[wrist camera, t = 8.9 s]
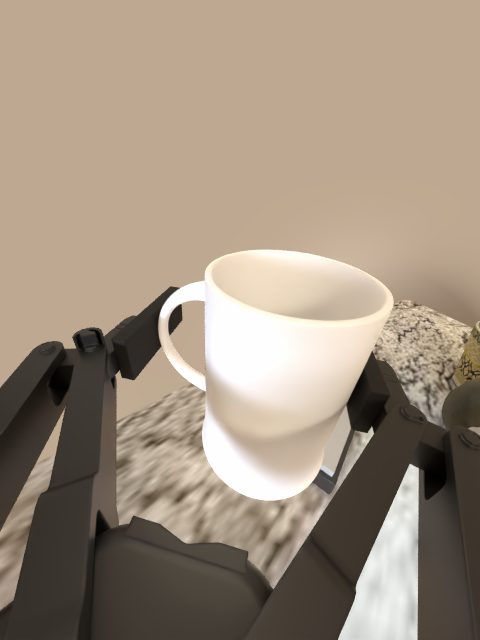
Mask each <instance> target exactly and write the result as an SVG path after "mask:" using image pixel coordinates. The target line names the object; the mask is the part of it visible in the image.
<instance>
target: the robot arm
mask: <svg viewBox="0 0 480 640" xmlns="http://www.w3.org/2000/svg"><path fill="white" fill-rule="evenodd" d="M178 289H180V288H177V287H169V288H168V289H167V290H166V291H165V292H164V293H162V294H161V295H160V296H159V297H158V298H157V299H156V300H155V301H153V302H152V303H151V304H150V305H149V306H148V307H147V308H145V309H144V310H143V311H142V312H141V313H140V314H139V315H138V316H130V317H128V318H126V319H124V320H123V321H122V322H121V323H120V324H119V325H117V326H116V327H115V328H114V329H112V330H111V331H110V332H109V333H108V334H107V335H105V336H103V333H102V330H101V329H99V328H86V329H82V330H80V331H78V332H76V333H75V334H74V335H73V337H72V338H73V340H74V343H75V345H76V348H77V349H64V346H63V344H62V343H61V342H57V341H52V342H46V343H43V344H41V345H39V346H37V347H36V348H34V349H33V350H32V352H31V353H30V354H29V355H28V356H27V357H26V358H25V360H24V361H23V362H22V363H21V364H20V366H19V367H18V368H17V369H16V370H15V371H14V372H13V374H12V375H11V376H10V377H9V378H8V379H7V381H6V382H5V383H4V384H3V385H2V386H1V388H0V531H1V529H2V527H3V525H4V523H5V521H6V519H7V517H8V515H9V513H10V511H11V510H12V508H13V506H14V504H15V502H16V500H17V498H18V496H19V494H20V492H21V490H22V489H23V487H24V485H25V483H26V481H27V479H28V477H29V475H30V473H31V471H32V469H33V468H34V466H35V464H36V462H37V460H38V458H39V456H40V454H41V452H42V450H43V448H44V447H45V445H46V442H47V441H48V439H49V437H50V435H51V433H52V431H53V429H54V427H55V425H56V423H57V422H58V420H59V418H60V416H61V414H62V412H63V410H64V408H65V412H64V418H63V422H62V427H61V432H60V436H59V441H58V446H57V451H56V456H55V461H54V466H53V470H52V475H51V480H50V485H49V488H48V489H47V491H45V492H43V493H41V495H40V496H39V498H38V501H37V504H36V507H35V511H34V515H33V520H32V524H31V528H30V533H29V537H28V541H27V546H26V550H25V554H24V558H23V563H22V567H21V571H20V576H19V580H18V584H17V589H16V593H15V597H14V600H13V601H12V602H11V603H9V604H8V605H7V606H6V607H4V608H3V609H2V610H1V611H0V640H338V637H339V635H340V633H341V630H342V628H343V626H344V624H345V621H346V619H347V617H348V614H349V612H350V610H351V607H352V604H353V602H354V599H355V595H356V584H357V581H358V579H359V576H360V574H361V572H362V570H363V567H364V565H365V563H366V561H367V558H368V556H369V554H370V552H371V549H372V547H373V545H374V543H375V540H376V538H377V536H378V534H379V531H380V529H381V527H382V525H383V522H384V520H385V518H386V516H387V513H388V511H389V509H390V507H391V504H392V502H393V500H394V498H395V495H396V493H397V491H398V489H399V486H400V484H401V482H402V480H403V477H404V475H405V473H406V471H407V468H408V466H409V464H412V465H414V466H416V467H418V468H419V527H418V640H480V436H479V435H478V434H477V433H476V432H474V431H472V430H470V429H468V428H466V427H463V426H453V427H451V428H450V429H449V430H446V429H444V428H441V427H439V426H437V425H434V424H432V423H430V422H428V421H427V419H426V417H425V415H424V414H423V413H422V412H421V411H420V410H419V409H417V408H416V407H415V406H413V405H411V404H410V403H409V401H408V399H407V397H406V395H405V393H404V390H403V388H402V386H401V384H399V380H398V378H397V376H396V374H395V372H394V370H393V368H392V367H391V366H390V365H389V364H388V363H387V362H385V361H380V360H376V358H375V356H374V354H373V351H372V352H371V354H370V356H369V358H368V361H367V363H366V365H365V367H364V369H363V371H362V373H361V375H360V377H359V379H358V381H357V383H356V385H355V387H354V389H353V392H352V394H351V396H350V398H349V400H348V402H347V404H346V407H347V412H348V417H349V421H350V426H351V429H352V430H356V431H360V432H365V433H368V431H369V430H370V428H371V426H372V428H373V431H374V435H373V436H372V438H371V440H370V441H369V443H368V444H367V446H366V447H365V449H364V450H363V452H362V454H361V455H360V457H359V458H358V460H357V461H356V463H355V464H354V466H353V467H352V469H351V471H350V472H349V474H348V475H347V477H346V478H345V480H344V481H343V483H342V484H341V486H340V488H339V489H338V491H337V492H336V494H335V495H334V497H333V498H332V500H331V501H330V503H329V505H328V506H327V508H326V509H325V511H324V512H323V514H322V515H321V517H320V518H319V520H318V522H317V523H316V525H315V526H314V528H313V529H312V531H311V532H310V534H309V536H308V537H307V539H306V540H305V542H304V543H303V545H302V546H301V548H300V549H299V551H298V553H297V554H296V556H295V557H294V559H293V560H292V562H291V563H290V565H289V566H288V568H287V570H286V571H285V573H284V574H283V576H282V577H281V579H280V580H279V582H278V583H277V585H276V587H275V588H274V590H273V589H272V587H271V585H270V584H269V582H268V581H267V579H266V578H265V576H264V575H263V574H262V573H261V571H260V570H259V569H258V568H257V567H256V566H255V565H254V564H252V563H251V562H250V561H248V560H247V558H248V551H244V550H241V549H238V548H235V547H232V546H228V545H225V544H222V543H219V542H218V543H195V544H186V543H184V542H182V541H181V540H180V539H178V538H177V537H176V536H175V535H173V534H172V533H171V532H169V531H168V530H167V529H166V528H164V527H163V526H162V525H160V524H158V523H155V522H152V521H148V520H145V519H142V518H139V517H136V516H133V517H132V520H131V522H130V524H125V525H120V526H119V520H118V514H117V507H116V377H115V375H116V374H117V373H118V371H119V370H120V373H121V376H122V378H126V379H130V380H135V379H136V377H137V376H138V375H139V374H140V372H141V371H142V370H143V369H144V367H145V366H146V365H147V364H148V362H149V361H150V360H151V359H152V357H153V356H154V355H155V353H156V352H157V351H158V350H159V349H160V347H161V343H160V340H159V335H158V320H159V315H160V312H161V310H162V307H163V305H164V304H165V302H166V301H167V299H168V298H169V297H170V296H171V295H172V294H173V293H174V292H176V291H177V290H178ZM181 306H182V305H181V304H180V305H178V306H177V307H176V308H175V309H174V310H173V311H172V313H171V314H170V317H169V321H168V330H169V336H170V335H171V333H172V332H173V331H174V329H175V328H176V327H177V325H179V323H180V322H181V321H182V307H181ZM65 406H66V407H65Z"/></svg>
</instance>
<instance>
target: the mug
mask: <svg viewBox="0 0 480 640" xmlns="http://www.w3.org/2000/svg"><path fill="white" fill-rule="evenodd" d="M192 300H200V301H205V375H204V374H202V373H200V372H198V371H196V370H195V369H193V368H192V367H191V366H189V365H188V364H187V363H186V362H185V361H184V360H183V359H182V358H181V357H180V355H179V354H178V353H177V351H176V350H175V348H174V346H173V344H172V342H171V339H170V336H169V330H168V321H169V317H170V314H171V313H172V311H173V310H174V309H175V308H176V307H177V306H178V305H180V304H182V303H184V302H187V301H192ZM393 303H394V302H393V297H392V294H391V293H390V291H389V290H388V289H387V287H386V286H385V285H384V284H382V283H381V282H380V281H379V280H377V279H376V278H374V277H373V276H371V275H369V274H367V273H366V272H364V271H361V270H360V269H358V268H355V267H353V266H350V265H348V264H345V263H342V262H339V261H336V260H333V259H329V258H325V257H321V256H317V255H313V254H307V253H301V252H293V251H284V250H250V251H242V252H236V253H232V254H228V255H225V256H222V257H220V258H218V259H216V260H214V261H213V262H212V263H210V264H209V266H208V267H207V269H206V271H205V281H201V282H195V283H191V284H188V285H186V286H184V287H182V288H180V289H178V290H177V291H176V292H174V293H173V294H172V295H171V296H170V297H169V298H168V299H167V301H166V302H165V304H164V305H163V307H162V310H161V312H160V315H159V320H158V335H159V340H160V343H161V346H162V348H163V351H164V353H165V354H166V356H167V358H168V360H169V361H170V363H171V364H172V365H173V366H174V368H175V369H176V370H177V371H178V372H179V373H180V374H181V375H182V376H183V377H185V378H186V379H187V380H188V381H190V382H191V383H192V384H194V385H195V386H197V387H199V388H200V389H202V390H204V391H205V392H206V416H205V419H204V423H203V429H202V440H203V446H204V450H205V454H206V456H207V459H208V461H209V463H210V465H211V467H212V468H213V470H214V471H215V472H216V474H217V475H218V476H219V477H220V478H221V479H222V480H223V481H224V482H225V483H226V484H227V485H228V486H230V487H231V488H232V489H234V490H236V491H237V492H239V493H241V494H243V495H246V496H248V497H251V498H255V499H260V500H281V499H285V498H289V497H292V496H294V495H296V494H298V493H300V492H301V491H303V490H304V489H305V488H307V487H308V486H309V485H310V484H311V483H312V481H313V480H314V479H315V477H316V476H317V474H318V472H319V470H320V468H321V465H322V462H323V457H324V450H325V448H326V445H327V443H328V441H329V439H330V437H331V435H332V433H333V431H334V429H335V427H336V425H337V423H338V420H339V418H340V416H341V414H342V412H343V410H344V408H345V406H346V404H347V402H348V400H349V398H350V396H351V394H352V392H353V389H354V387H355V385H356V383H357V381H358V379H359V377H360V375H361V373H362V371H363V369H364V367H365V365H366V363H367V361H368V358H369V356H370V354H371V352H372V350H373V348H374V346H375V344H376V342H377V340H378V338H379V336H380V334H381V332H382V330H383V327H384V325H385V323H386V321H387V319H388V317H389V315H390V313H391V310H392V308H393Z"/></svg>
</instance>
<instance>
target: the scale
mask: <svg viewBox="0 0 480 640" xmlns="http://www.w3.org/2000/svg"><path fill="white" fill-rule="evenodd" d="M354 431H355V430H352V429H351V426H350V421H349V417H348V412H347V407H346V406H345V408H344V410H343V412H342V414H341V416H340V418H339V420H338V423H337V425H336V427H335V429H334V431H333V433H332V435H331V437H330V439H329V441H328V443H327V445H326V448H325V450H324V457H323V462H322V465H321V468H320V470H319V472H318V474H317V476H316V477H315V479H314V480H313V481H312V482H313V483H315V484H316V485H317V486H319V487H320V488H321V489H323V490H324V491H326V492H327V493H328V494H330V493H331V491H332V490H333V488H334V486H335V485H336V482H337V479H338V476H339V473H340V471H341V468H342V465H343V462H344V459H345V457H346V454H347V451H348V448H349V445H350V442H351V440H352V437H353V434H354Z"/></svg>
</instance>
